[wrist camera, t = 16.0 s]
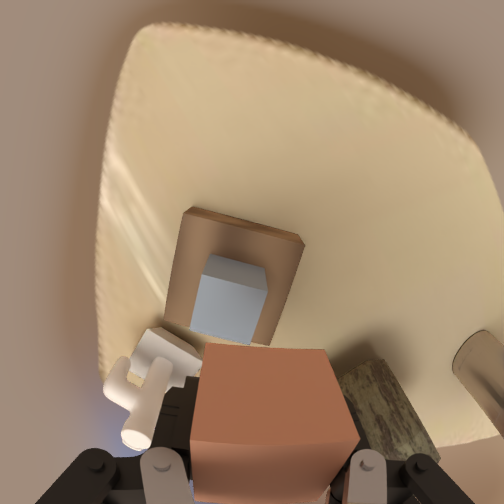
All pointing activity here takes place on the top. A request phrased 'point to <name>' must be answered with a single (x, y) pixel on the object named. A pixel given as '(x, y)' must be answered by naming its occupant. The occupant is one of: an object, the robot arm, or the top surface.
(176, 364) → the figurine
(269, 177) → the top surface
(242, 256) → the plinth
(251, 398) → the terracotta block
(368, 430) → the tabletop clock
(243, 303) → the blue block
